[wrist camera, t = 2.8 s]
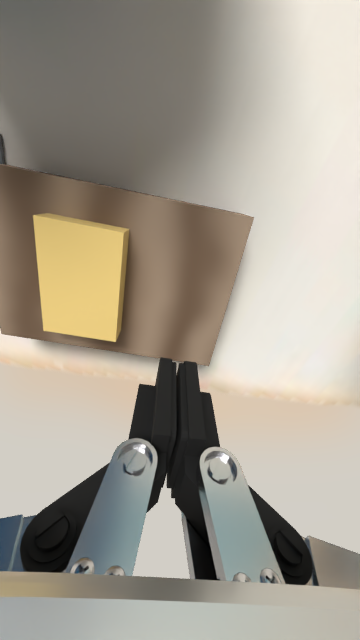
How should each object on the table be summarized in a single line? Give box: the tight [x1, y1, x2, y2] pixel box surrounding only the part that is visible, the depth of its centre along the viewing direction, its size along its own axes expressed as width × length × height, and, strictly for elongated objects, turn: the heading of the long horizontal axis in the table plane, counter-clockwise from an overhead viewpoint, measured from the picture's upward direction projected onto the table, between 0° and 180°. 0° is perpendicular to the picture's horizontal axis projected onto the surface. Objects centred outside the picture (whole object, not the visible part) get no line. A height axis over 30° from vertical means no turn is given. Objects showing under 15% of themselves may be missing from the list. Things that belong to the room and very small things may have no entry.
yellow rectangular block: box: [33, 213, 129, 342], centre depth 19 cm, size 6×9×2 cm, turn 169°
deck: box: [0, 164, 254, 366], centre depth 22 cm, size 20×14×4 cm
